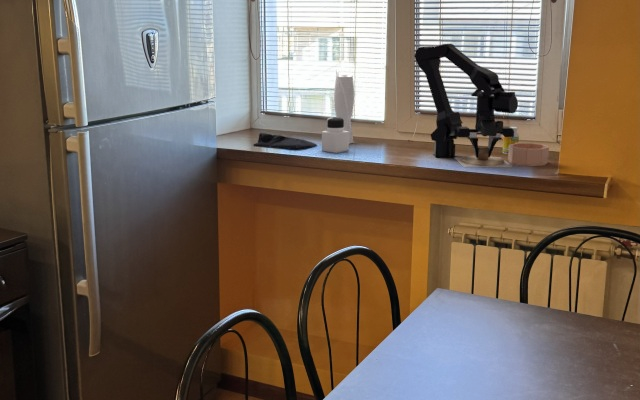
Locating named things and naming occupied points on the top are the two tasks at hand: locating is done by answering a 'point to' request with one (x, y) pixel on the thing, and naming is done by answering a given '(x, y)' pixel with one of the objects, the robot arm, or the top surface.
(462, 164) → the mat
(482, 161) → the lid
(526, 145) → the bowl
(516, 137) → the supplement bottle
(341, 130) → the medicine bottle
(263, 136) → the crumpled black cloth
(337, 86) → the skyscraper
